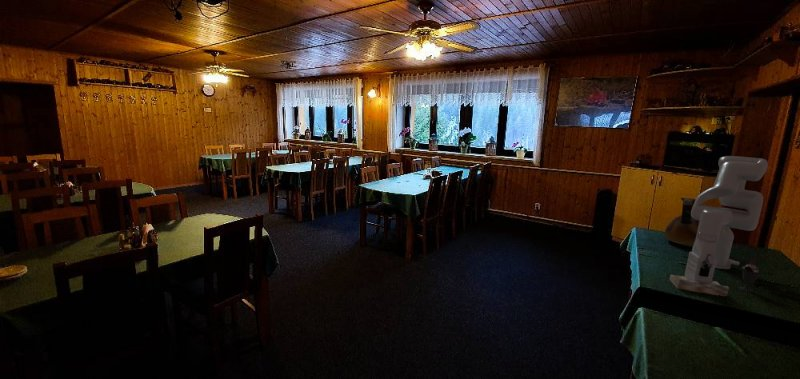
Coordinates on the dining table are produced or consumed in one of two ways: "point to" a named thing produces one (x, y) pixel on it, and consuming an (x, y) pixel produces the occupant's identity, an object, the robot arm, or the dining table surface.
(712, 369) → the dining table surface
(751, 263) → the sundae
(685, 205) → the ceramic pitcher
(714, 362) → the dining table surface
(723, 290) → the display board
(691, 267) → the supplement box
